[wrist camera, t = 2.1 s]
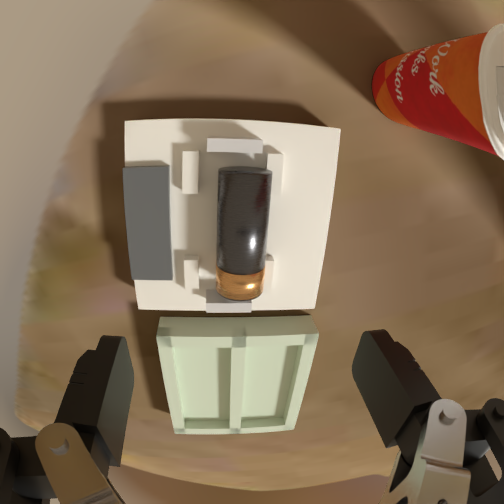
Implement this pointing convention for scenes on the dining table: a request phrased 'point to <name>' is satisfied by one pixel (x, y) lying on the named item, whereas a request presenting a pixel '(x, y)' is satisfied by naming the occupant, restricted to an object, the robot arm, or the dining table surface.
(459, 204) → the dining table surface
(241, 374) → the tray
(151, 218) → the white battery holder
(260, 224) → the cell
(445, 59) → the paper cup
